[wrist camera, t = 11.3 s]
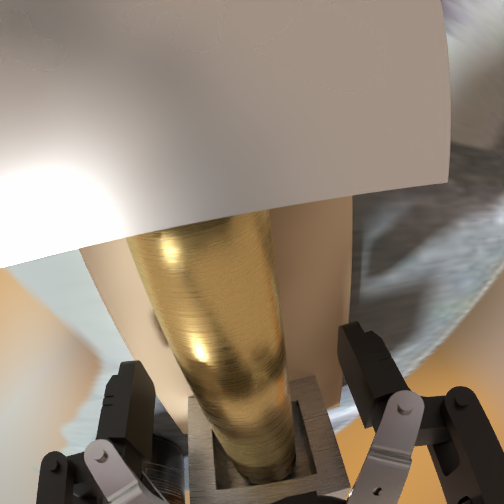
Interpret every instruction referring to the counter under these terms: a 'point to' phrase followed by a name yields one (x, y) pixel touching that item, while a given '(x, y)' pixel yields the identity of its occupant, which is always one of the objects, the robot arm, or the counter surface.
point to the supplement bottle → (165, 471)
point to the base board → (290, 290)
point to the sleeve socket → (215, 142)
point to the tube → (226, 332)
